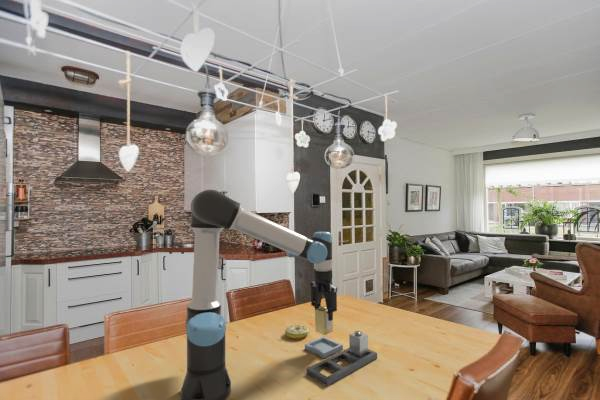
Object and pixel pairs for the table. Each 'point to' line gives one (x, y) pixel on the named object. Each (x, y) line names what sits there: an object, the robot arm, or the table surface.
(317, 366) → the rail
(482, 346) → the table surface
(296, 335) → the decorated donut
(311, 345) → the parts tray
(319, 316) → the gold block with knob
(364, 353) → the grey knobbed block
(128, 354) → the table surface
